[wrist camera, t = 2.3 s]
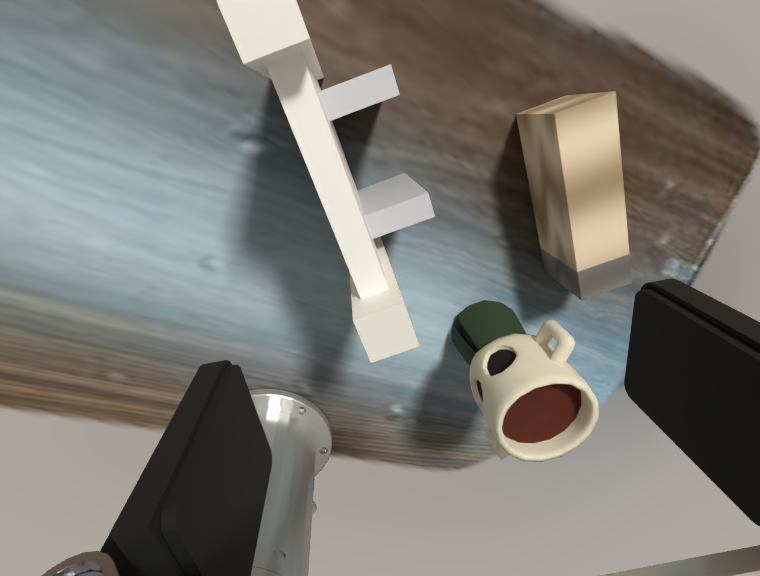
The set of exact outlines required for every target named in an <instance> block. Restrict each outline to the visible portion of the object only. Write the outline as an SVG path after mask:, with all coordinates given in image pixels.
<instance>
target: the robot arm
mask: <svg viewBox="0 0 760 576" xmlns="http://www.w3.org/2000/svg"><path fill="white" fill-rule="evenodd" d="M624 385H625V389H626V392H627V394H628V396H629V397H630V398H631V399H632V400H633V401H634V402H635V404H637V405H638V407H639V408H640V409H641V410H643V412H645V414H646V415H648V416H649V418H650V419H651V420H652V421H653V422H654V423H655V424H656V425H658V427H659V428H660V429H661V430H662V431H663V432H664V433H665V434H666V435H667V436H668V437H669V438H670V439H671V440H672V441H673V442H674V443H675V444H676V445H677V446H678V447H679V448H680V449H681V450H682V451H683V452H684V453H685V454H686V455H687V456H688V457H689V458H690V459H691V460H692V461H693V462H694V463H695V464H696V465H697V466H698V467H699V468H700V469H701V470H702V471H703V472H704V473H705V474H706V475H707V476H708V477H709V478H710V479H711V480H712V481H713V482H714V483H715V484H716V485H717V486H718V487H719V488H720V489H721V490H722V491H723V492H724V493H725V494H726V495H727V496H728V497H729V498H730V499H731V500H732V501H733V502H734V503H735V504H736V505H737V506H738V507H739V508H740V509H741V510H742V511H743V512H744V513H745V514H746V516H748V517H749V519H750V520H752V521H753V522H754V523H755V524H757V525H758V526H760V322H758V321H756V320H754V319H752V318H750V317H748V316H746V315H745V314H742V313H741V312H739V311H737V310H735V309H733V308H731V307H729V306H727V305H725V304H723V303H721V302H719V301H717V300H715V299H713V298H712V297H710V296H707V295H706V294H704V293H702V292H700V291H698V290H696V289H694V288H692V287H690V286H688V285H686V284H684V283H682V282H681V281H679V280H676V279H666V280H660V281H655V282H650V283H646V284H644V285H643V286H642V288H641V290H640V291H638V292H637V293H636V296H635V301H634V309H633V317H632V325H631V333H630V341H629V349H628V357H627V365H626V373H625V381H624ZM331 447H332V432H331V428H330V424H329V422H328V421H327V419H326V417H325V415H324V414H323V413H322V412H321V410H320V409H319V408H318V407H317V406H315V405H314V404H313V403H312V402H310V401H309V400H307V399H305V398H303V397H302V396H300V395H297V394H294V393H291V392H288V391H283V390H277V389H258V390H251V391H249V389H248V386H247V384H246V381H245V378H244V376H243V373H242V370H241V368H240V366H239V365H232V363H231V362H230V361H228V360H224V361H219V362H213V363H208V364H203V365H201V366H200V368H199V369H198V371H197V373H196V375H195V377H194V379H193V380H192V382H191V384H190V386H189V388H188V390H187V391H186V393H185V395H184V397H183V399H182V401H181V403H180V404H179V406H178V408H177V410H176V412H175V414H174V415H173V417H172V419H171V421H170V423H169V425H168V427H167V428H166V430H165V432H164V434H163V436H162V438H161V439H160V441H159V443H158V445H157V447H156V449H155V451H154V453H153V454H152V456H151V458H150V460H149V462H148V463H147V465H146V467H145V469H144V471H143V473H142V474H141V476H140V478H139V480H138V482H137V484H136V486H135V487H134V489H133V491H132V493H131V495H130V497H129V498H128V500H127V502H126V504H125V506H124V508H123V510H122V511H121V513H120V515H119V517H118V519H117V521H116V522H115V524H114V526H113V528H112V530H111V532H110V534H109V536H108V538H107V540H106V541H105V543H104V545H103V547H102V549H101V551H100V552H99V551H93V552H84V553H81V554H78V555H76V556H73V557H71V558H68V559H66V560H65V561H63V562H61V563H60V564H58V565H56V566H55V567H53V568H51V569H50V570H48V571H47V572H46V573H45V574H43V575H42V576H308V567H309V552H310V537H311V520H312V514H314V512H315V511H316V508H317V507H316V504H315V502H314V501H313V490H314V477H315V476H316V475H317V474H318V473H319V472H320V471H321V470H322V469H323V467H324V466H325V464H326V463H327V461H328V459H329V456H330V453H331ZM602 576H760V545H759V546H753V547H748V548H743V549H738V550H732V551H727V552H722V553H717V554H711V555H705V556H700V557H695V558H689V559H685V560H679V561H674V562H669V563H663V564H658V565H653V566H648V567H643V568H638V569H633V570H627V571H623V572H617V573H612V574H606V575H602Z"/></svg>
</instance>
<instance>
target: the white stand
mask: <svg viewBox="0 0 760 576" xmlns="http://www.w3.org/2000/svg"><path fill="white" fill-rule="evenodd" d="M216 1H217V3H218V5H219V8H220V10H221V12H222V15H223V17H224V19H225V22H226V24H227V26H228V29H229V31H230V33H231V36H232V38H233V40H234V43H235V45H236V48H237V50H238V52H239V55H240V57H241V59H242V62H243V64H244V65H246V66H248V67H250V68H252V69H254V70H255V71H257V72H259V73H261V74H263V75H264V76H266V77H268V78H270V79H272V82H273V84H274V86H275V89H276V91H277V94H278V96H279V99H280V101H281V104H282V106H283V109H284V111H285V114H286V116H287V118H288V121H289V123H290V126H291V128H292V131H293V133H294V136H295V138H296V141H297V143H298V146H299V148H300V150H301V153H302V155H303V158H304V160H305V163H306V165H307V168H308V170H309V173H310V175H311V178H312V180H313V182H314V185H315V187H316V190H317V192H318V195H319V197H320V200H321V202H322V205H323V207H324V210H325V212H326V214H327V217H328V219H329V222H330V224H331V227H332V229H333V232H334V234H335V237H336V239H337V242H338V244H339V246H340V249H341V251H342V254H343V256H344V259H345V261H346V264H347V266H348V269H349V274H350V287H351V301H352V314H353V322H354V324H355V327H356V329H357V331H358V334H359V336H360V338H361V341H362V343H363V345H364V348H365V350H366V352H367V355H368V357H369V359H370V362H371V363H372V362H375V361H378V360H381V359H384V358H387V357H389V356H392V355H395V354H398V353H401V352H404V351H407V350H410V349H412V348H415V347H418V346H419V343H418V341H417V338H416V335H415V332H414V329H413V327H412V324H411V321H410V318H409V315H408V312H407V310H406V307H405V304H404V301H403V298H402V296H401V293H400V290H399V287H398V284H397V281H396V279H395V276H394V273H393V270H392V267H391V265H390V262H389V259H388V256H387V253H386V250H385V248H384V245H383V242H382V239H381V236H383V235H385V234H388V233H391V232H394V231H396V230H399V229H402V228H405V227H407V226H410V225H413V224H416V223H418V222H421V221H424V220H427V219H429V218H432V217H435V215H434V211H433V208H432V204H431V201H430V198H429V194H428V192H427V191H425V190H424V189H423V188H422V187H421V186H420V185H418V184H417V183H416V182H415V181H414V180H412V179H411V178H410V177H409V176H408V175H407V174H405V173H403V174H400V175H398V176H395V177H392V178H390V179H387V180H384V181H381V182H379V183H376V184H373V185H371V186H368V187H365V188H363V189H360V190H357V188H356V185H355V182H354V180H353V177H352V174H351V171H350V169H349V166H348V163H347V160H346V158H345V155H344V152H343V149H342V147H341V144H340V141H339V138H338V136H337V133H336V130H335V127H334V125H333V122H332V120H334V119H337V118H339V117H342V116H345V115H347V114H350V113H352V112H355V111H358V110H360V109H363V108H366V107H368V106H371V105H374V104H376V103H379V102H382V101H384V100H387V99H389V98H392V97H395V96H397V95H400V94H399V91H398V87H397V84H396V80H395V77H394V74H393V70H392V67H391V64H390V65H388V66H385V67H382V68H380V69H377V70H375V71H372V72H369V73H367V74H364V75H361V76H359V77H356V78H354V79H351V80H348V81H346V82H343V83H341V84H338V85H335V86H333V87H330V88H327V89H325V90H322V91H321V89H320V86H319V83H318V81H317V80H320V79H322V78H324V77H323V74H322V71H321V68H320V65H319V63H318V60H317V57H316V54H315V51H314V49H313V46H312V43H311V40H310V37H309V35H308V32H307V29H306V26H305V23H304V21H303V18H302V15H301V12H300V10H299V7H298V4H297V1H296V0H216Z"/></svg>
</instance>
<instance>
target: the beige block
mask: <svg viewBox="0 0 760 576" xmlns="http://www.w3.org/2000/svg"><path fill="white" fill-rule="evenodd" d="M516 116H517V122H518V127H519V133H520V138H521V144H522V149H523V155H524V160H525V166H526V171H527V176H528V182H529V187H530V193H531V198H532V204H533V209H534V215H535V220H536V226H537V231H538V237H539V242H540V247H541V253H542V258H543V264H544V269H545V273H546V274H548V275H549V276H550V277H552V278H553V279H554V280H556V281H557V282H558V283H560V284H561V285H562V286H564V287H565V288H566V289H568V290H569V291H570V292H571V293H573V294H574V295H575V296H577V297H578V298H579V299H581V300H584V299H587V298H589V297H592V296H595V295H598V294H601V293H604V292H607V291H610V290H613V289H615V288H618V287H621V286H624V285H627V284H630V283H632V280H631V268H630V256H629V244H628V233H627V221H626V209H625V197H624V185H623V174H622V162H621V150H620V138H619V127H618V115H617V103H616V91H613V92H602V93H591V94H579V95H568V96H564V97H561V98H558V99H556V100H553V101H550V102H548V103H545V104H542V105H540V106H537V107H534V108H531V109H529V110H526V111H523V112H521V113H518V114H516Z"/></svg>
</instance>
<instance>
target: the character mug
mask: <svg viewBox="0 0 760 576" xmlns="http://www.w3.org/2000/svg"><path fill="white" fill-rule="evenodd" d="M458 320H459V321H460V323H461V324H462V327H461V330H460V334H459V333H458V331H457V330H456V329H455V327H454V326H453V328H452V337H453V342H454V344H455V346H456V347H457V349H458V350H459V352H460V353H461V355H462V356H463V358H464V359H465V361H466V362H467V363H468V364H469V366H470V375H469V379H470V385H471V391H472V393H473V396H474V399H475V401H476V403H477V404H478V406H479V407H480V409H481V411H482V413H483V415H484V418H485V421H486V423H487V425H486V429H485V431H486V435H487V437H488V439H489V441H490V444H491V446H492V448H493V450H494V452H495V454H496V455H497V456H498V457H500V458H501V459H504V458H506V457H507V456H508V455H511V456H513V457H515V458H517V459H519V460H522V461H533V462H543V461H547V460H550V459H554V458H558V457H561V456H563V455H565V454H566V453H568V452H570V451H572V450H574V449H575V448H577V447H579V446H580V445H581V443H582V442H583V441H584V440H585V439H586V438H587V437H588V436H589V435H590V434H591V433H592V431H593V429H594V426H595V424H596V422H597V419H598V417H599V410H598V400H597V398H596V397H595V395H594V394H593V392H592V390H591V389H590V387H589V386H588V385H587V383H586V382H585V381H584V380H583V379H582V378H581V377H580V376H579V374H578V373H577V372H576V371H575V370H574V369H573V368H572V367H571V366H570V365H569V364H568V363H567V362H566V360H567V359H568V357H569V355H570V354H571V352H572V350H573V349H574V346H575V341H574V339H573V337H572V336H571V335H570V334H569V333H567V332H566V331H565V330H564V329H563V328H562V327H561V326H560V325H559V324H558V323H557V322H556V321H554V320H551V319H550V320H546V322H545V323H544V324H543V325H542V327H541V329H540V330H539V332H538V334H537V336H534V335H527V334H526V332H525V330H524V329H523V327H522V325H521V323H520V321H519V319H518V318H517V316H516V315H515V313H514V312H513V310H512V309H511V308H509V307H507V306H506V305H504V304H502V303H500V302H493V301H486V300H484V301H481V302H478V303H475V304H472V305H470V306H469V307H467V308H466V309H465V310H464V311H463V312H461V313H460V314H459V315H458ZM552 337H553V338H554V339H555V340H556V341H557V346H556V347H555V349H554V348H553V347H552V345H551V344H550V343H549V342H550V341H551V339H552Z"/></svg>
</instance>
